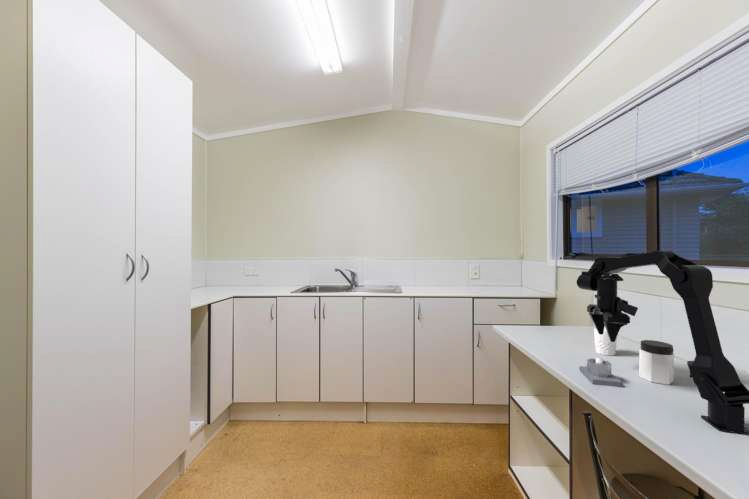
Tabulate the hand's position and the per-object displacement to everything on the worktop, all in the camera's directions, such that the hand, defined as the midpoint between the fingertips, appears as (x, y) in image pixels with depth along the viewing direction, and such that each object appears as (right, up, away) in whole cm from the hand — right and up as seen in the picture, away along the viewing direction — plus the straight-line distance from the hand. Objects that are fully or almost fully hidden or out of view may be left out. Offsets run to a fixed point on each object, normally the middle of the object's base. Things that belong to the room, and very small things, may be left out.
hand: (606, 337), depth 111 cm
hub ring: (-5, -11, -4) cm, 13 cm away
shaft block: (-5, -13, -4) cm, 14 cm away
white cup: (+15, -13, +22) cm, 30 cm away
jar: (+13, -13, -5) cm, 19 cm away
